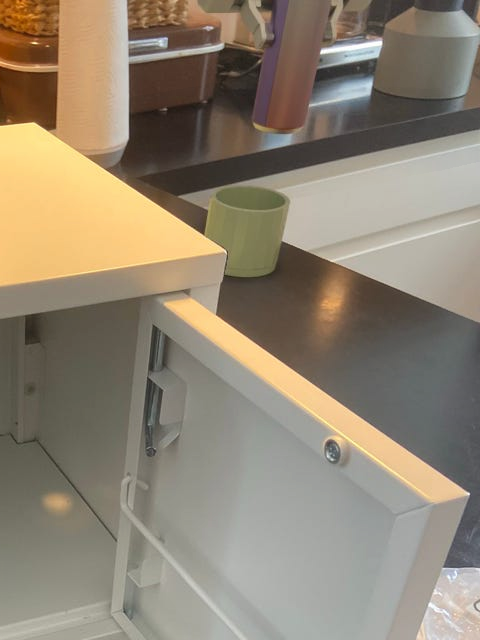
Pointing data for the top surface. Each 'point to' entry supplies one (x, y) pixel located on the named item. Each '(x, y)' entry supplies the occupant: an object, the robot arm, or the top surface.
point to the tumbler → (248, 227)
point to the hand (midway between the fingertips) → (296, 44)
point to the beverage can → (290, 65)
